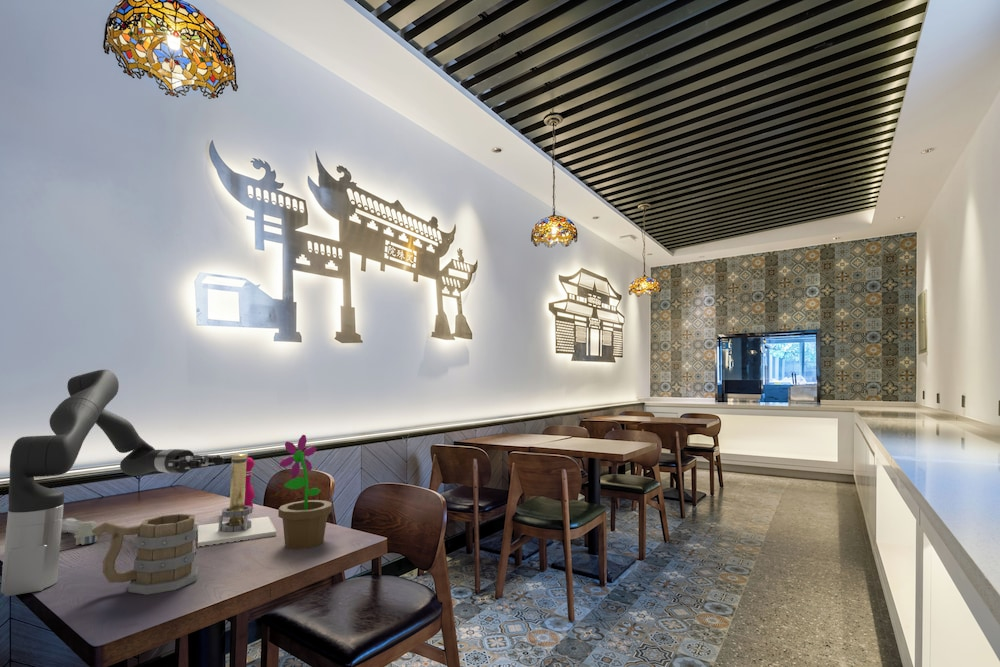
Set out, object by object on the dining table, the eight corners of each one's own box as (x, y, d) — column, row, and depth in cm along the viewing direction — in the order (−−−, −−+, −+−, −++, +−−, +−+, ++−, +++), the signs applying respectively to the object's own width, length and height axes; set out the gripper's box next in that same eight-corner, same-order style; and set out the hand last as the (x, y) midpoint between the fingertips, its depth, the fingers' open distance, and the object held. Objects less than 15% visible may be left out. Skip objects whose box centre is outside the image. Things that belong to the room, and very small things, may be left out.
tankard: (198, 568, 121) (202, 505, 122) (195, 587, 110) (199, 517, 111) (95, 584, 111) (100, 516, 113) (79, 606, 100) (85, 530, 102)
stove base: (276, 535, 147) (277, 511, 148) (197, 547, 137) (199, 521, 138) (268, 520, 164) (269, 498, 165) (197, 529, 154) (199, 506, 155)
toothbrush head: (76, 515, 157) (102, 516, 143) (75, 538, 156) (101, 540, 141) (54, 519, 153) (79, 520, 138) (53, 542, 151) (78, 545, 137)
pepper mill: (229, 511, 175) (232, 454, 177) (234, 507, 182) (237, 452, 184) (251, 510, 177) (254, 453, 179) (255, 505, 184) (258, 451, 186)
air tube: (244, 529, 150) (247, 455, 152) (228, 531, 148) (232, 456, 150) (243, 525, 154) (246, 453, 156) (227, 527, 151) (231, 454, 154)
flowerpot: (309, 532, 150) (312, 432, 153) (342, 540, 142) (344, 434, 146) (265, 546, 138) (270, 436, 141) (299, 554, 130) (303, 439, 133)
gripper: (154, 451, 155) (192, 452, 150) (195, 447, 168) (231, 447, 163) (152, 476, 154) (190, 478, 149) (193, 469, 167) (230, 471, 162)
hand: (212, 462), depth 156 cm, fingers open, 8 cm apart
